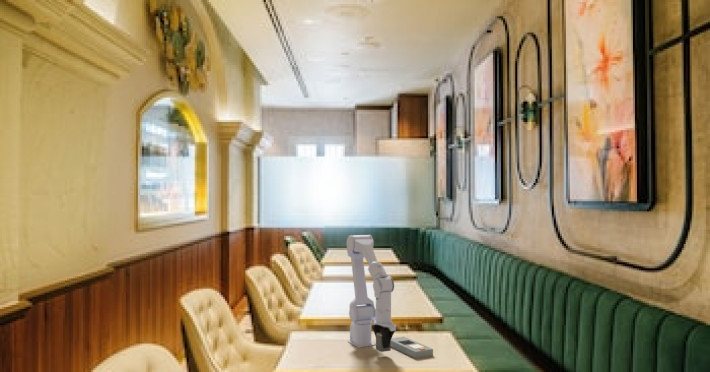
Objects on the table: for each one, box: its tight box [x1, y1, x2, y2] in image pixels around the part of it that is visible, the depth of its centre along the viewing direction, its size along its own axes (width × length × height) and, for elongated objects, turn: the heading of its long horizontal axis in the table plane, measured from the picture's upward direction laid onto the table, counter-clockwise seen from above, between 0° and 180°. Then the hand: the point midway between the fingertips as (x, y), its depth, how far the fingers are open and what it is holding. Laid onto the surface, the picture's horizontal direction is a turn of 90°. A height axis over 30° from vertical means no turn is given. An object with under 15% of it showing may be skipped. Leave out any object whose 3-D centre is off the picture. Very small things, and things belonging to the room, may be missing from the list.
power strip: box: [391, 336, 434, 360], centre depth 206 cm, size 20×8×3 cm, turn 28°
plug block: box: [375, 333, 392, 353], centre depth 198 cm, size 4×4×6 cm
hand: (383, 345), depth 198 cm, fingers closed on plug block, 4 cm apart
